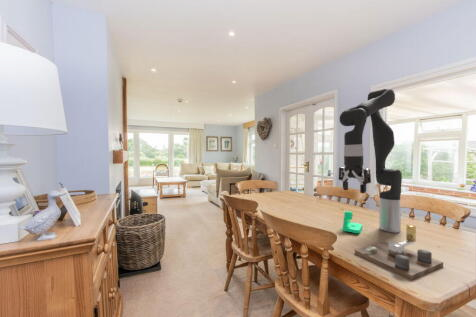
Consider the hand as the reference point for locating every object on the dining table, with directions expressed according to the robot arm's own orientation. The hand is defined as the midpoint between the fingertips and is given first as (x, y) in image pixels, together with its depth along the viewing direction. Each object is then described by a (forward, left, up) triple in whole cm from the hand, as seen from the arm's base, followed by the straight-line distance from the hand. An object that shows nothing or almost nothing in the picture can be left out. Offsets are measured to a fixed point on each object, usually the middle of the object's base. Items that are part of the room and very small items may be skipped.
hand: (353, 191), depth 96 cm
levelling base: (-5, +15, -25) cm, 30 cm away
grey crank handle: (-10, +15, -23) cm, 29 cm away
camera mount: (-18, -15, -26) cm, 35 cm away
